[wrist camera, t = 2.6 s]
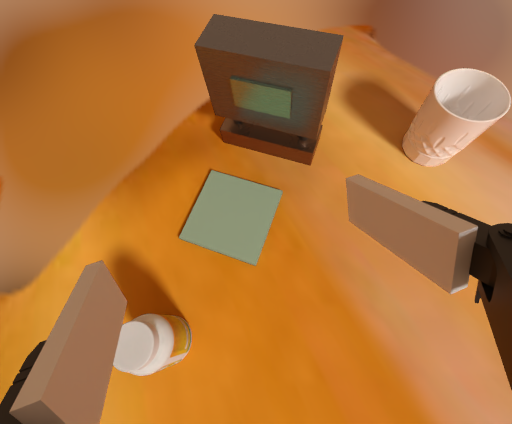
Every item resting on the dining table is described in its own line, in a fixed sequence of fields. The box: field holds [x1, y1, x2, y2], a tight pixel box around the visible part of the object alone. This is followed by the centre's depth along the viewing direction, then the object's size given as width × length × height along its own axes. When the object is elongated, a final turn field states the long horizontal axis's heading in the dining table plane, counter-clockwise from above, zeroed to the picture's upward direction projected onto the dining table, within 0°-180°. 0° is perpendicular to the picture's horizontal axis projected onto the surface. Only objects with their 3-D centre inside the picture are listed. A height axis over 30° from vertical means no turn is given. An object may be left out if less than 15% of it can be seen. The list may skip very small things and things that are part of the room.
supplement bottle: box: [113, 314, 192, 376], centre depth 27 cm, size 5×5×10 cm
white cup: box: [402, 68, 511, 166], centre depth 34 cm, size 8×8×10 cm
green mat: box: [179, 170, 283, 266], centre depth 37 cm, size 11×11×1 cm
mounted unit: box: [195, 14, 343, 165], centre depth 34 cm, size 14×5×16 cm, turn 70°
